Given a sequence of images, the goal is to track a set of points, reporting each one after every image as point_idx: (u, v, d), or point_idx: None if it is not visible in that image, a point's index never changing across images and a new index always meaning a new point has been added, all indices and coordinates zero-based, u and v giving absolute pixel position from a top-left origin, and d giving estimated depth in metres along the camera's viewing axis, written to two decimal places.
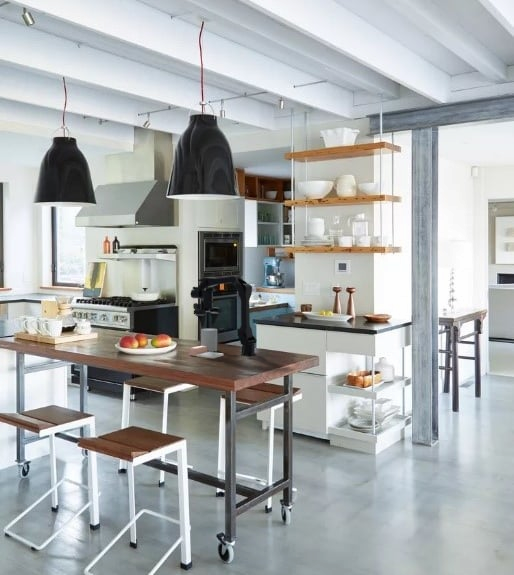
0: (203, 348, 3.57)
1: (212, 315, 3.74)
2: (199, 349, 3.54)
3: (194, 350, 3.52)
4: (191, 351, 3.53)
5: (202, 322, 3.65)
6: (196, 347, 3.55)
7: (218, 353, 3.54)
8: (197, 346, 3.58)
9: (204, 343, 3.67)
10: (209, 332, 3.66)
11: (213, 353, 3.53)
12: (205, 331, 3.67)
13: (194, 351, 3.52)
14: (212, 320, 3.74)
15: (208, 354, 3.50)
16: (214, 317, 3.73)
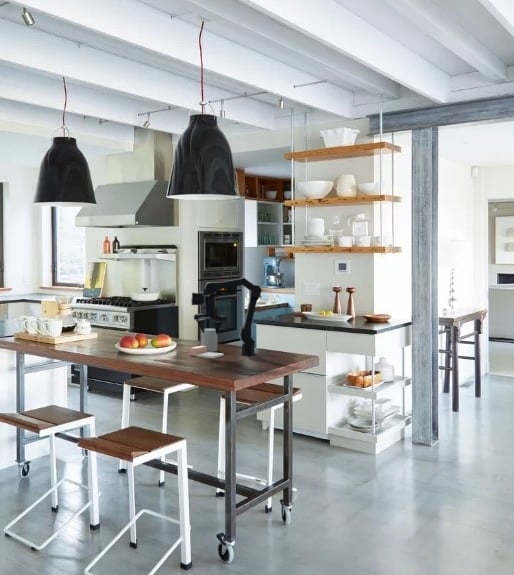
0: (203, 348, 3.57)
1: None
2: (199, 349, 3.54)
3: (194, 350, 3.52)
4: (191, 351, 3.53)
5: None
6: (196, 347, 3.55)
7: (218, 353, 3.54)
8: (197, 346, 3.58)
9: (204, 343, 3.67)
10: (209, 332, 3.66)
11: (213, 353, 3.53)
12: (205, 331, 3.67)
13: (194, 351, 3.52)
14: None
15: (208, 354, 3.50)
16: None
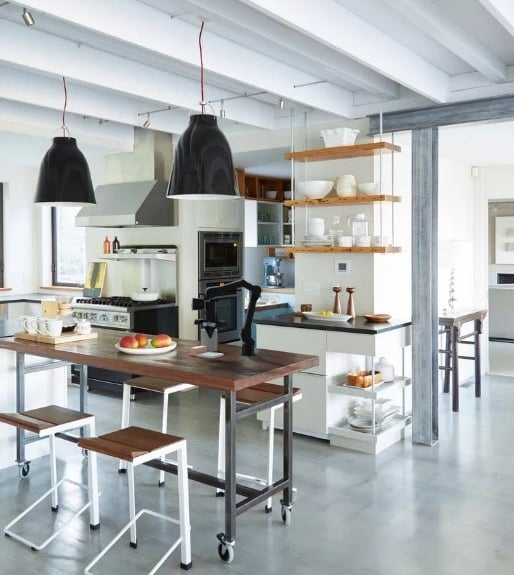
0: (203, 348, 3.57)
1: None
2: (199, 349, 3.54)
3: (194, 350, 3.52)
4: (191, 351, 3.53)
5: None
6: (196, 347, 3.55)
7: (218, 353, 3.54)
8: (197, 346, 3.58)
9: (204, 343, 3.67)
10: None
11: (213, 353, 3.53)
12: (205, 331, 3.67)
13: (194, 351, 3.52)
14: None
15: (208, 354, 3.50)
16: None
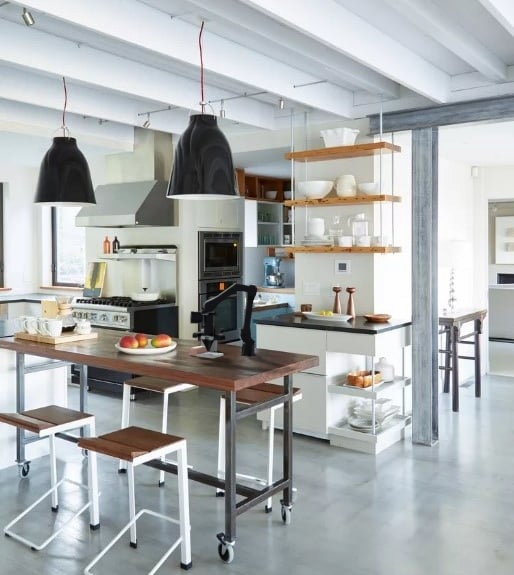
0: (203, 348, 3.57)
1: None
2: (199, 349, 3.54)
3: (194, 350, 3.52)
4: (191, 351, 3.53)
5: None
6: (196, 347, 3.55)
7: (218, 353, 3.54)
8: (197, 346, 3.58)
9: None
10: None
11: (213, 353, 3.53)
12: None
13: (194, 351, 3.52)
14: None
15: (208, 354, 3.50)
16: None
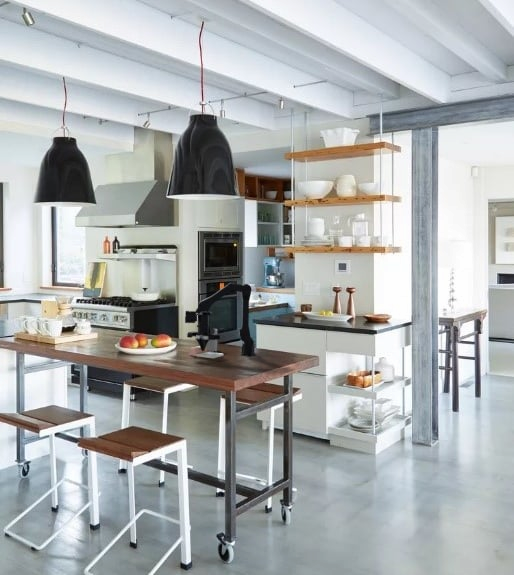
0: None
1: None
2: (199, 349, 3.54)
3: (194, 350, 3.52)
4: (191, 351, 3.53)
5: None
6: (196, 347, 3.55)
7: (218, 353, 3.54)
8: (197, 346, 3.58)
9: None
10: None
11: (213, 353, 3.53)
12: None
13: (194, 351, 3.52)
14: None
15: (208, 354, 3.50)
16: None
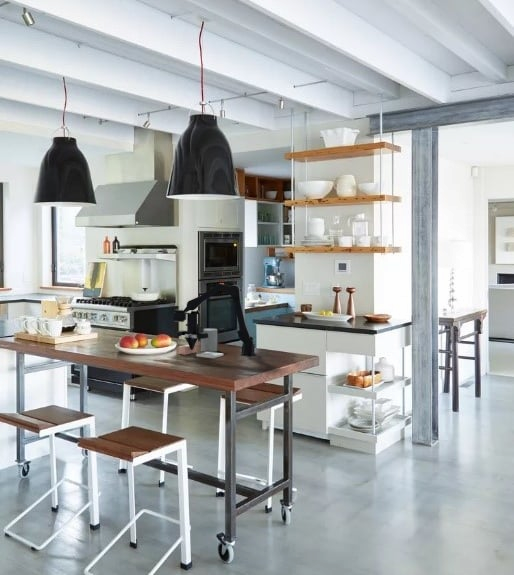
0: None
1: None
2: (188, 348, 3.58)
3: (183, 349, 3.56)
4: (180, 350, 3.57)
5: None
6: (185, 346, 3.59)
7: (218, 353, 3.54)
8: (186, 345, 3.62)
9: (204, 343, 3.67)
10: (209, 332, 3.66)
11: (213, 353, 3.53)
12: (205, 331, 3.67)
13: (183, 350, 3.56)
14: None
15: (208, 354, 3.50)
16: None
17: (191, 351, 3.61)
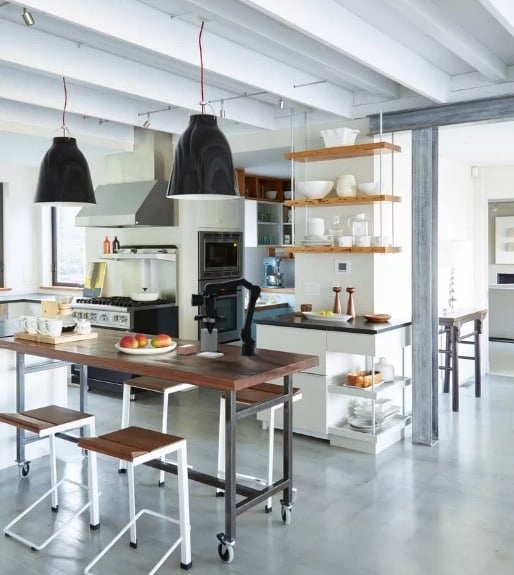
0: (192, 347, 3.61)
1: None
2: (188, 348, 3.58)
3: (183, 349, 3.56)
4: (180, 350, 3.57)
5: None
6: (185, 346, 3.59)
7: (218, 353, 3.54)
8: (186, 345, 3.62)
9: (204, 343, 3.67)
10: None
11: (213, 353, 3.53)
12: (205, 331, 3.67)
13: (183, 350, 3.56)
14: None
15: (208, 354, 3.50)
16: None
17: (191, 351, 3.61)
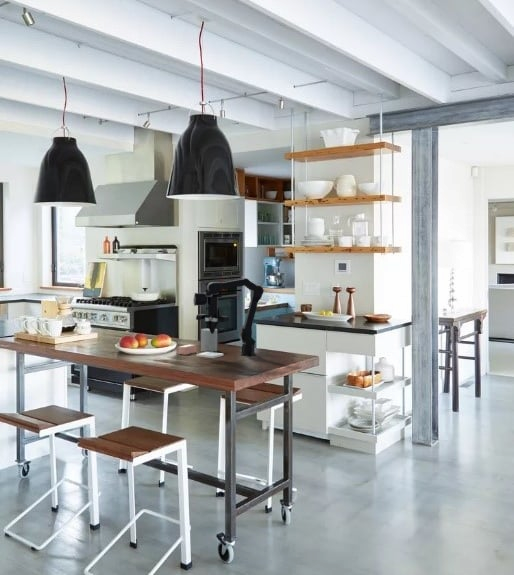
0: (192, 347, 3.61)
1: None
2: (188, 348, 3.58)
3: (183, 349, 3.56)
4: (180, 350, 3.57)
5: None
6: (185, 346, 3.59)
7: (218, 353, 3.54)
8: (186, 345, 3.62)
9: (204, 343, 3.67)
10: (209, 332, 3.66)
11: (213, 353, 3.53)
12: (205, 331, 3.67)
13: (183, 350, 3.56)
14: None
15: (208, 354, 3.50)
16: None
17: (191, 351, 3.61)
